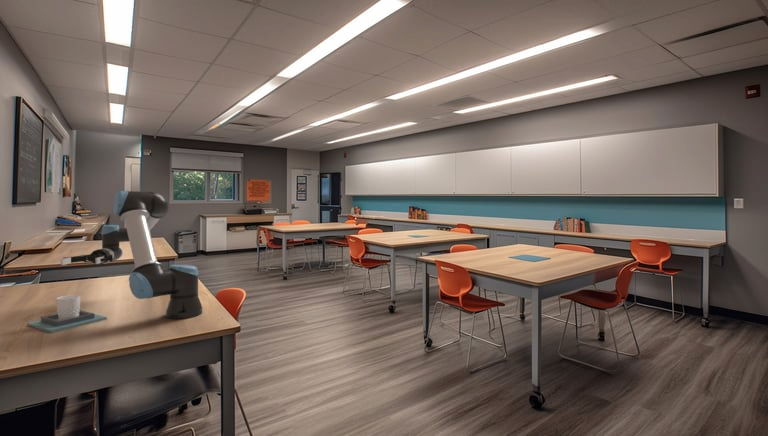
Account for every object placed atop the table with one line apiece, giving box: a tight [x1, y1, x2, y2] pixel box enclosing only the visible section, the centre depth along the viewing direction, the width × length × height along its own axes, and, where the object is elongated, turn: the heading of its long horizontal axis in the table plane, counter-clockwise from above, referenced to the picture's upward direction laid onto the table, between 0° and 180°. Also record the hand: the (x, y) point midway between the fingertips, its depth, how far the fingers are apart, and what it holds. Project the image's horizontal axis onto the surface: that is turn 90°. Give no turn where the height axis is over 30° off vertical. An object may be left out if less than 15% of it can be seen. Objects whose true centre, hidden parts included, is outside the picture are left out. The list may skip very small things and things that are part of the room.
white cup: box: [56, 294, 81, 321], centre depth 162 cm, size 8×8×10 cm
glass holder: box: [26, 309, 108, 334], centre depth 162 cm, size 20×20×3 cm
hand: (79, 261), depth 171 cm, fingers open, 13 cm apart
